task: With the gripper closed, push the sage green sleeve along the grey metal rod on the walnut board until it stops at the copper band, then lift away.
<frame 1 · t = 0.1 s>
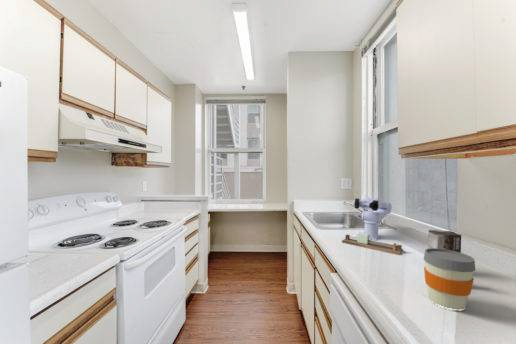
hand: (362, 204, 133), 22 cm above the counter, tool horizontal, fingers open, 7 cm apart
reusable coffee cup: (446, 303, 76), on the counter
rod board: (363, 244, 134), on the counter
sleeve: (363, 238, 133), point 4 cm above the counter, slide at 0.0 cm
coffee box: (442, 272, 101), on the counter
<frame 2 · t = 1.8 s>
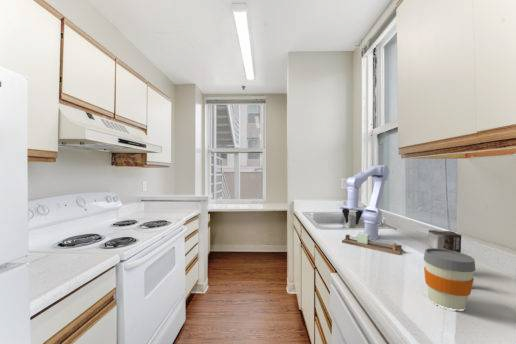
hand: (351, 223, 137), 10 cm above the counter, tool pointing down, fingers open, 5 cm apart
nothing on the counter moved.
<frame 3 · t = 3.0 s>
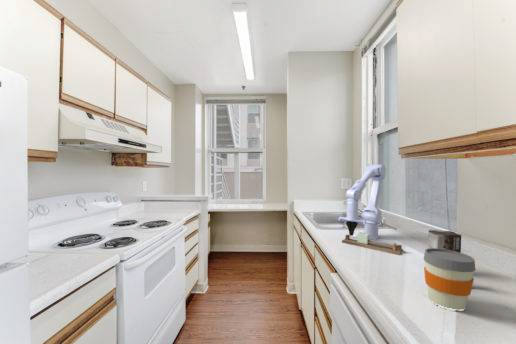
hand: (351, 235, 138), 4 cm above the counter, tool pointing down, fingers closed
nothing on the counter moved.
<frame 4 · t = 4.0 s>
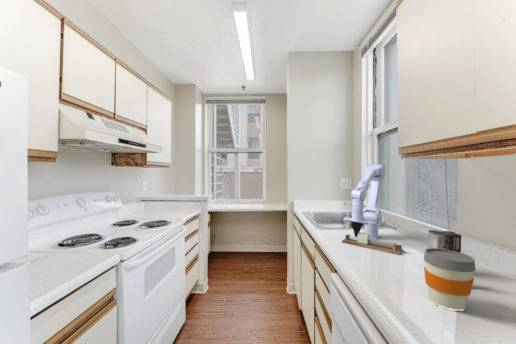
hand: (356, 236, 136), 4 cm above the counter, tool pointing down, fingers closed
sleeve: (363, 238, 133), point 4 cm above the counter, slide at 0.0 cm, touching gripper
everything else where it was.
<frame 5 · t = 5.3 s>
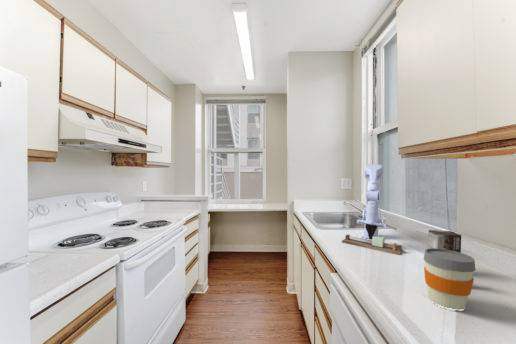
hand: (370, 239, 131), 4 cm above the counter, tool pointing down, fingers closed
sleeve: (378, 241, 129), point 4 cm above the counter, slide at 7.4 cm, touching gripper
everything else where it was.
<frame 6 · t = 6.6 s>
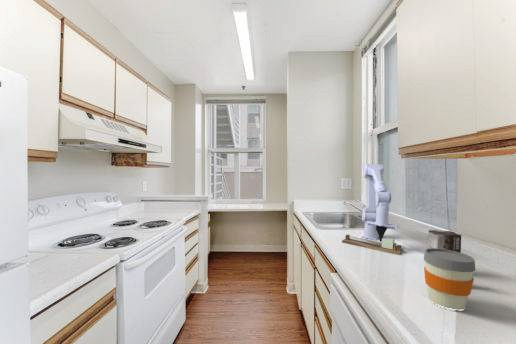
hand: (380, 241, 128), 4 cm above the counter, tool pointing down, fingers closed
sleeve: (388, 243, 126), point 4 cm above the counter, slide at 12.0 cm, touching gripper
everything else where it was.
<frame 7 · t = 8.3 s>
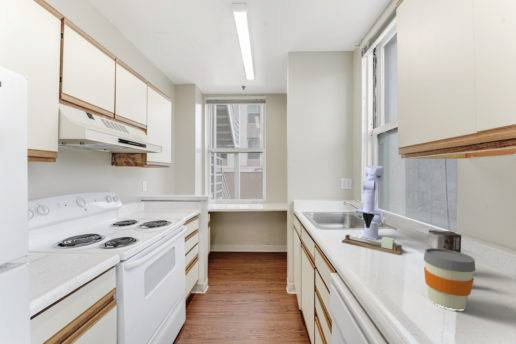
hand: (367, 227, 133), 9 cm above the counter, tool pointing down, fingers closed
sleeve: (387, 242, 126), point 4 cm above the counter, slide at 11.8 cm
everything else where it was.
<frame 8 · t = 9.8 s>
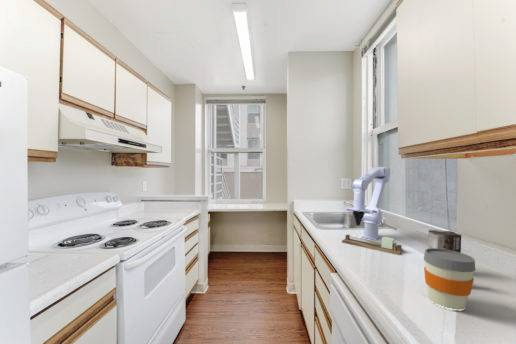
hand: (358, 225, 138), 9 cm above the counter, tool pointing down, fingers closed
nothing on the counter moved.
at the end: sleeve slide at 11.8 cm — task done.
